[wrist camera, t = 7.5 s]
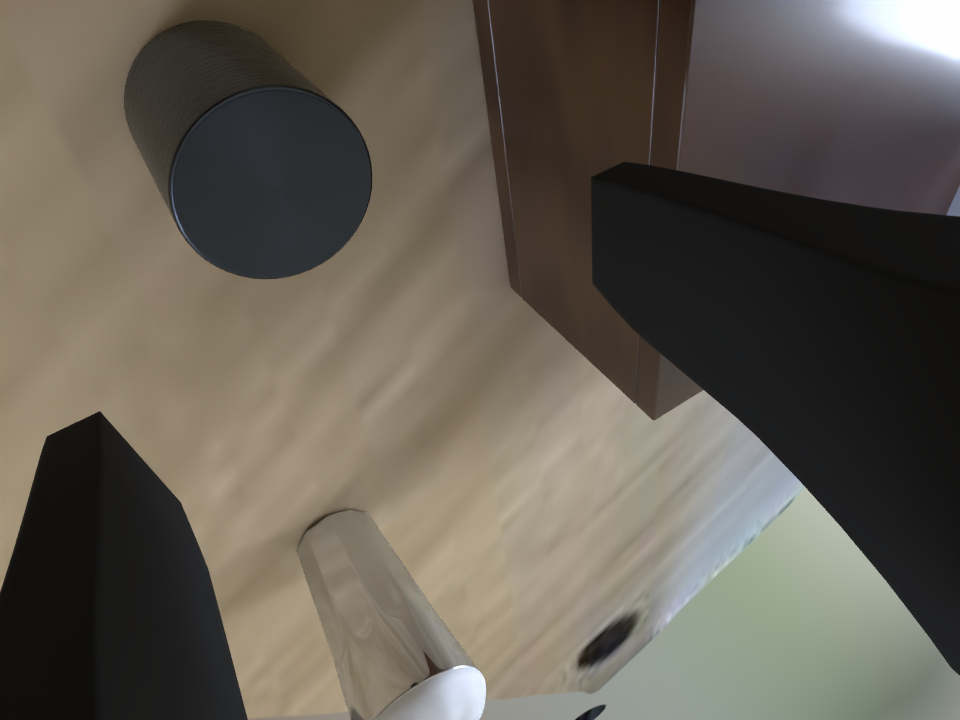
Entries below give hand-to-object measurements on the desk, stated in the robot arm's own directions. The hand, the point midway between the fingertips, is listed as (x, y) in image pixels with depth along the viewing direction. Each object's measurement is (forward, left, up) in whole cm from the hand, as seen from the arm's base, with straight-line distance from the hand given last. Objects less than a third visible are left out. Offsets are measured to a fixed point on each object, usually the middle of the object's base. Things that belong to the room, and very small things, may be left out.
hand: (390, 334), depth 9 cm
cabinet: (-13, +3, -9) cm, 16 cm away
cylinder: (0, 0, -9) cm, 9 cm away
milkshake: (+3, +18, -10) cm, 20 cm away
